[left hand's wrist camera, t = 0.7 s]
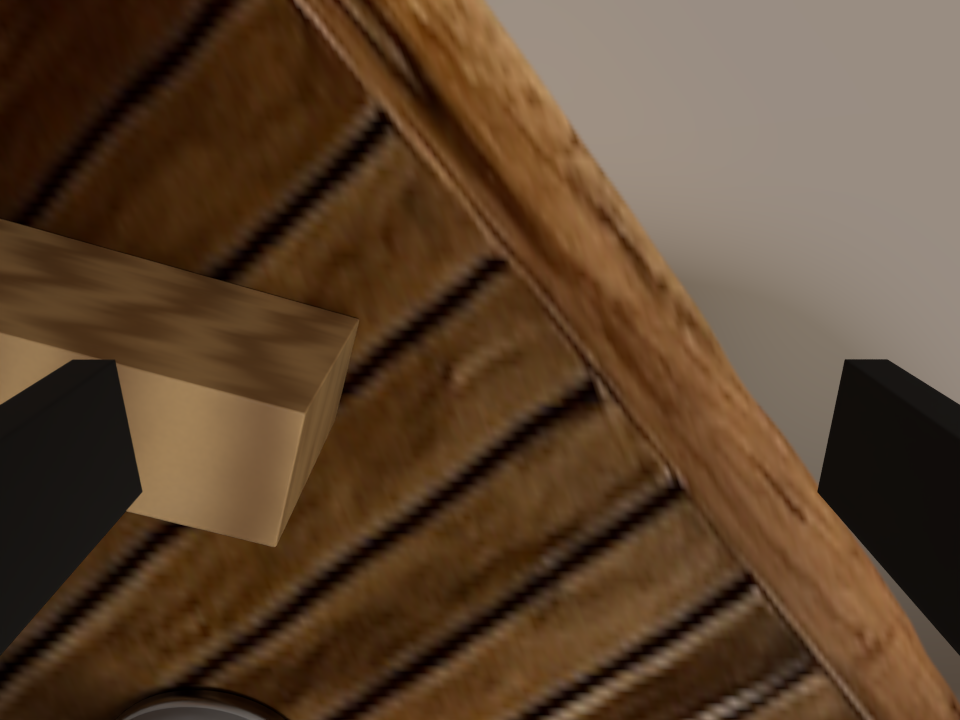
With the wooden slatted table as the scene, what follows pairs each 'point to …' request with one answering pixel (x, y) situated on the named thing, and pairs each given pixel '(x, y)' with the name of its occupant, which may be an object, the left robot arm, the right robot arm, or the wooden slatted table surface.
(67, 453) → the left robot arm
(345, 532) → the wooden slatted table surface
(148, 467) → the box
